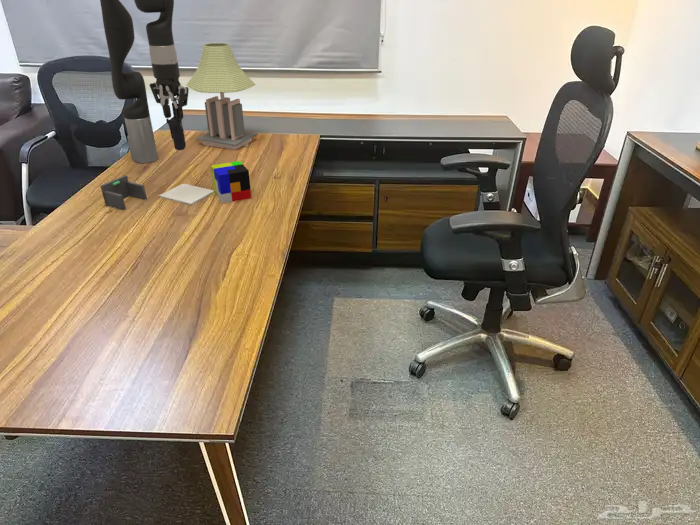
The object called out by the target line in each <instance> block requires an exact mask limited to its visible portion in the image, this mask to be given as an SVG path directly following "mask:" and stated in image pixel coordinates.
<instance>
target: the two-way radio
mask: <svg viewBox="0 0 700 525" xmlns="http://www.w3.org/2000/svg"><path fill="white" fill-rule="evenodd" d="M171 107H172V109H171V110H172V115H173V117H170V118H165V119H166V120H165V121H166V123H167V125H168V127H169V130H170V136H171V137H170V138H171V139H172V140H173V145H174V146H173V147H174V149H175V150H177V151H184V150H185V149H186V147H187V145H186V137H185V133H184V127H183V119H182V120H177V119H176V114H175V106H174V103H173V102H171Z"/></svg>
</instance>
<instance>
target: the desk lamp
mask: <svg viewBox="0 0 700 525" xmlns="http://www.w3.org/2000/svg"><path fill="white" fill-rule="evenodd" d="M200 56H201V57H200V60H199V64H198V66H197V69H196V71H195V72H194V73H193V74H192V75H193V76H191V78H190V79H189V81H188V82H187V83H186V84H185V85H186V87H188V89H191V90H192V91H195V92H198V93H208V94H210V93H212V94H220V99H219V96H218V95H215V96H213V97H210V98H206V99H205V102H204V109H205V114H206V115H205V116H206V123H207V130H208V131H207V133H205V134H202V135H201V136H198V137H196V140H197V141H201V143H202V144H201V145H204V146H209V147H215V148H221V149H225V150H233V151H235V150H237V149H239V148H241V147H243V146H245V145H247V144H249V143H251V142H252V141H253V137H256V136H258V135H257V133H255V132H247V131H245V122H244V112H243V104H242V103H241V100H240V98H236V99H233V100H231V97H225V93H237V92H241V91H242V92H243V91H244V90H248V89H250V88H252V87H255V86H256V83H255V82H254V81H253V80H252V79H251V78H250V77H249V76H248V75H247V74H246V72H244V71H243V69H242V68H241V66H240V65H239V63H238V61H237V60H236V58H235V55H234V52H233V50H232V48H231V46H230V44H229V43H224V42H211V43H209V42H207V43H205V44H203V45H202V51H201V55H200Z"/></svg>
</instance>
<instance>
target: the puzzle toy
mask: <svg viewBox="0 0 700 525" xmlns="http://www.w3.org/2000/svg"><path fill="white" fill-rule="evenodd" d="M210 168H211V174H212V182H213V188H214V190H213V191H215V193H214V194H215V195H216V197H217V198H218V199H219V201H220V203H221V204H226V203H227V204H228V203H233V202H239V201H245V200H249V199H252V193H251V192H252V191H251V183H250V182H251V181H250V179H251V178H250V170H249V169H248V168H247V167H246V166H245V165H244V163H242V162H241V160H238V161H232V162H224V163H218V164H211V165H210Z"/></svg>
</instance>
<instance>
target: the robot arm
mask: <svg viewBox="0 0 700 525" xmlns="http://www.w3.org/2000/svg"><path fill="white" fill-rule="evenodd" d="M99 1H100V7H101V8H100V9H101V15H102V22H103V29H104V34H105V35H104V36H105V39H106V40H105V41H106V45H107V49H108V55H109V63H110V74H111V83H112V89H113V92H114V95H115V97H116V98H117V99H119V100H124V101H125V100H133V99H135V101H134V102H133V103H132V104H130V105H128V106H127V107H125V108H124V109H123V112H122V113H123V117H124V123H125V128H126V132H127V136H126V137H127V138H126V139H127V143H128V148H129V152H130V156H131V160H133V161H134V163H138V164H149V163H153V162H156V161H157V160H158V159H159V155H158V151H157V150H158V149H157V144H156V140H155V139H156V138H155V134H154V129H153V124H152V119H151V113H150V108H149V103H148V94H147V88H146V82H145V79H144V76H143V75H142V73H141V72H139V71H126V72H123V68H124V63H125V61H126V59H127V57H128V55H129V53H130V51H131V49H132V48H133V45H134V43H135V39H136V38H135V30H134V29H135V28H134V21H133V18H132V15H131V14H130V12H129V11H128V10H127V8H126V7H125V5H124V4H123V3H122V2H121V1H120V0H99ZM133 1H134V4H135V6H136V8H137V10H139V11H140V12H142V13H146V14H152V13H159V16H158V19H157V20H154V21H151V22H148V23H146V25H145V29H146V30H145V31H146V34H147V41H148V47H149V48H148V50H149V58H150V63H151V69H152V72H153V73H152V74H153V77H154V78H155V79H156V81H155V82H152V83H149V87H150V90H151V93H152V95H153V97H154V98H153V99H154V100H155V102H156V104H160V106H161V107H162V113H163V116H164V118H165V119H171V118H172V111H171V110H172V109H171V106H170V105H171V104H170V101H171V102H172V103H174V106H175V114H176V119H177V120H182V121H183V120H184V111H183V107H186V106H188V100H189V89H190V88H189V87H188V86H186V87H185V86H182V85H181V83H180V79H179V78H180V76H181V74H180V66H179V60H178V55H177V50H176V48H175V47H176V46H175V40H174V35H173V15H174V14H173V13H174V6H175V5H174V4H175V0H133Z"/></svg>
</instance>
